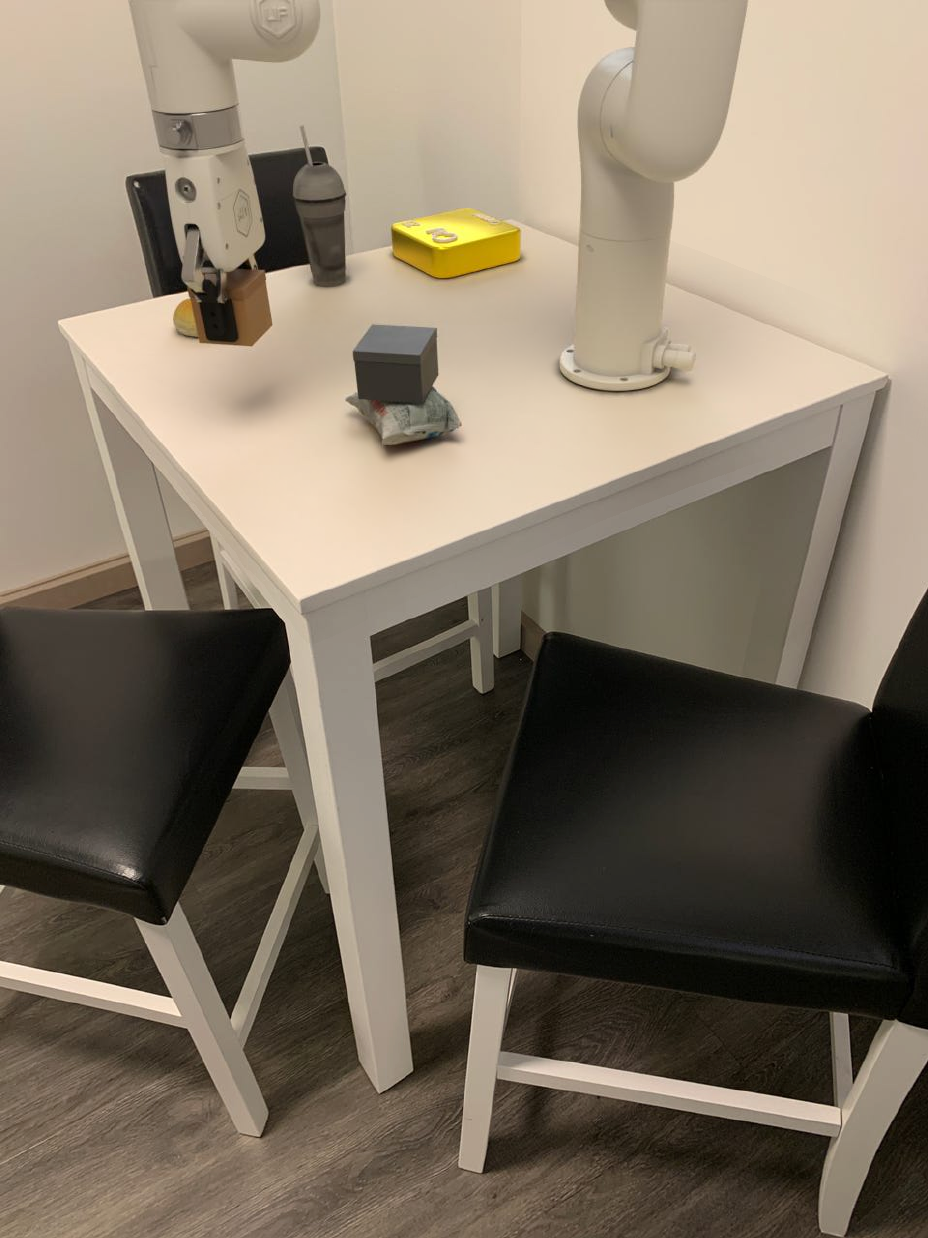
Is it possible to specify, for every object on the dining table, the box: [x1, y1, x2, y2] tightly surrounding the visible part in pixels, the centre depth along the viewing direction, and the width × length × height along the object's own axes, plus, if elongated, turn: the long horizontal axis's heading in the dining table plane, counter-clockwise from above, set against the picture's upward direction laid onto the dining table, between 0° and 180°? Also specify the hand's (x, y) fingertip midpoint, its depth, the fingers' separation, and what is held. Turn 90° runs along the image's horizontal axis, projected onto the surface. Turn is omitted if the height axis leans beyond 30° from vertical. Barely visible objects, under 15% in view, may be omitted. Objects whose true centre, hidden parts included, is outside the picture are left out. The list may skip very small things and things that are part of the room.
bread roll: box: [172, 298, 198, 338], centre depth 119 cm, size 8×9×4 cm
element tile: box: [390, 207, 522, 279], centre depth 138 cm, size 15×15×5 cm
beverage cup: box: [292, 125, 347, 288], centre depth 126 cm, size 7×7×20 cm
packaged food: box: [345, 385, 463, 446], centre depth 96 cm, size 9×12×5 cm
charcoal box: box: [352, 323, 439, 404], centre depth 92 cm, size 7×7×5 cm
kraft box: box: [186, 269, 273, 347], centre depth 92 cm, size 6×6×6 cm
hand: (235, 325), depth 94 cm, fingers closed on kraft box, 5 cm apart
